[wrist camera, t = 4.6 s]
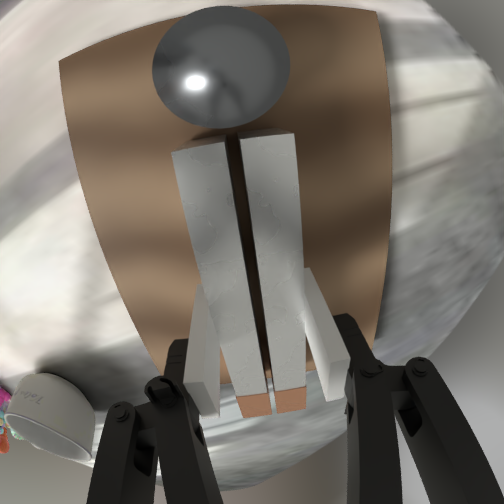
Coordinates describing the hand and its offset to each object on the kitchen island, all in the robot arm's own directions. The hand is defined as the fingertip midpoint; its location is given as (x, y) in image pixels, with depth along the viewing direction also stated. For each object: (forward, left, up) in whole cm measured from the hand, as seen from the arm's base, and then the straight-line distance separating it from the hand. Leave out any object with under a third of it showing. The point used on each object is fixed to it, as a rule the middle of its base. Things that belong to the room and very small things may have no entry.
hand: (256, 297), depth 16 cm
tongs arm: (+1, +1, -2) cm, 3 cm away
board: (-2, 0, -4) cm, 5 cm away
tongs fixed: (-2, 0, -2) cm, 3 cm away
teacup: (+15, -26, -4) cm, 30 cm away
